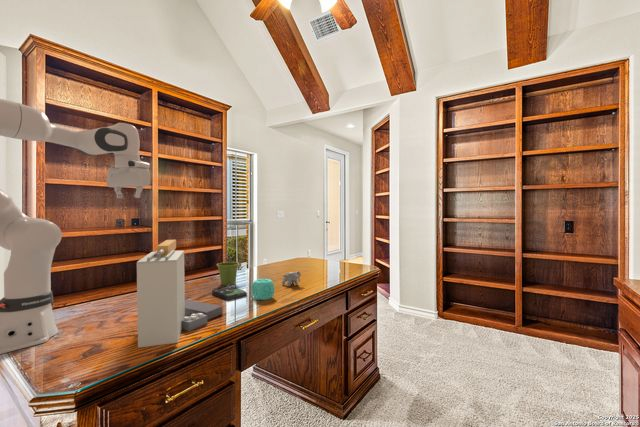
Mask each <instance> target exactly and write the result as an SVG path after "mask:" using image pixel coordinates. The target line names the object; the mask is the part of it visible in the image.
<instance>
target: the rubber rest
mask: <svg viewBox="0 0 640 427" xmlns="http://www.w3.org/2000/svg"><path fill="white" fill-rule="evenodd" d="M196 313H203V314H204V315H207V321H208V320H212V319H213V318H216V317H218V316H220V315H223V306H222V305H217V304H214V303H213V304H211V303H207V302H201V301H198V300H197V301H196V300H191V299H185V317H186V316H187V317H189V316H191V314H196Z"/></svg>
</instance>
